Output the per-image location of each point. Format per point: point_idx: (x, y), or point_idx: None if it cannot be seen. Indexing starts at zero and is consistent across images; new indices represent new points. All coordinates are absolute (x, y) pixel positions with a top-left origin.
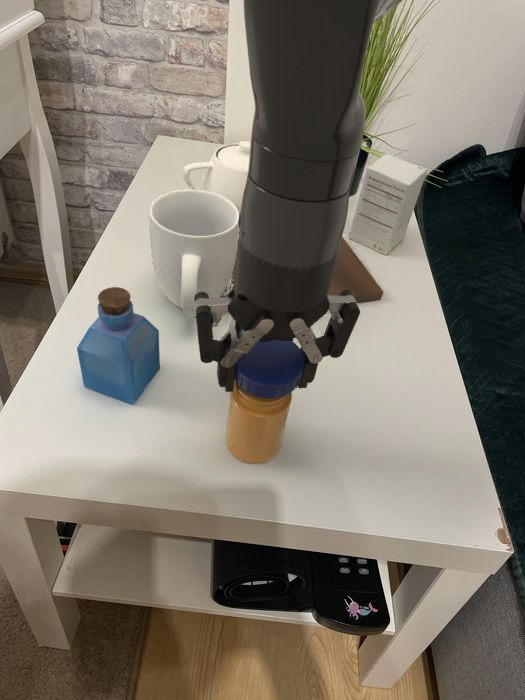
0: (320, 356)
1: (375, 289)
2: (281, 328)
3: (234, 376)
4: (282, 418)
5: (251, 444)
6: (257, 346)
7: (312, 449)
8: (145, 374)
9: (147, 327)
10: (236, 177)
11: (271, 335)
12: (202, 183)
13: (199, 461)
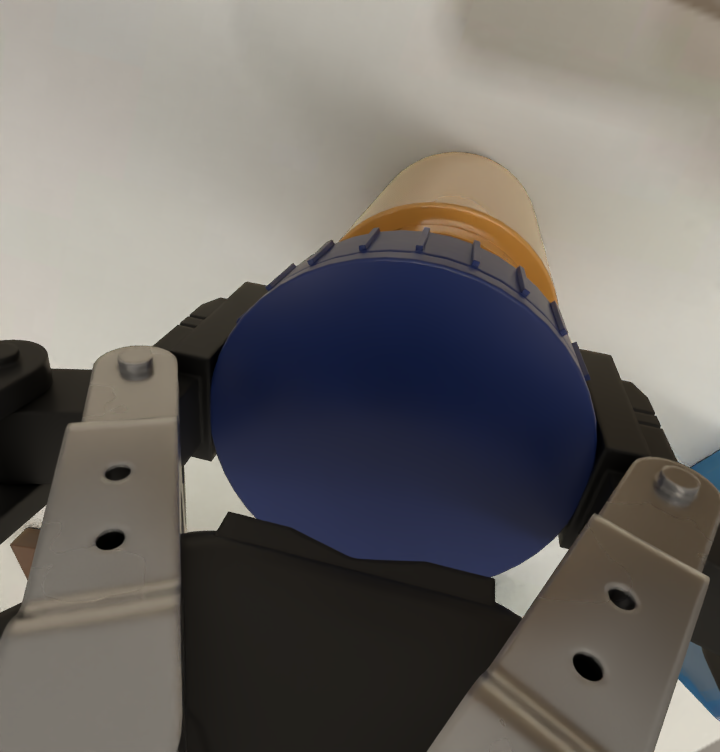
0: (103, 369)
1: (27, 555)
2: (286, 666)
3: (595, 403)
4: (378, 206)
5: (496, 180)
6: (424, 524)
7: (291, 162)
8: None
9: (699, 670)
10: None
11: (385, 613)
12: None
13: (640, 208)
